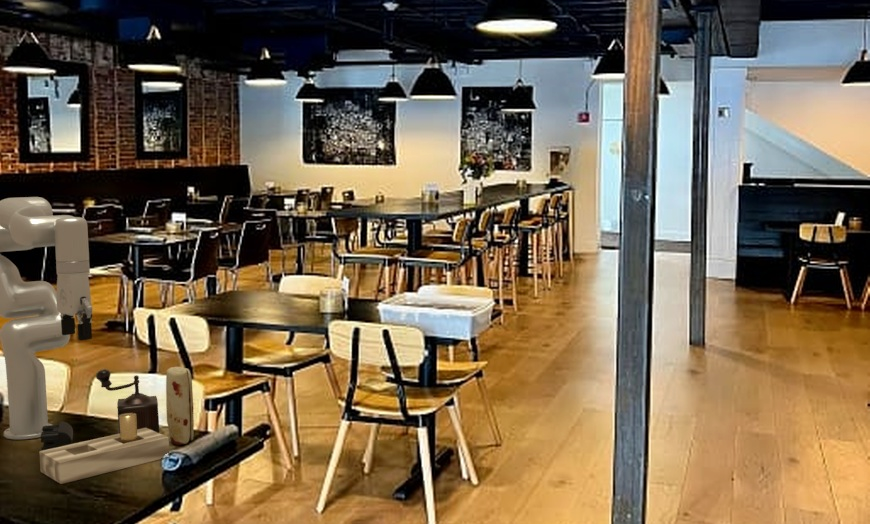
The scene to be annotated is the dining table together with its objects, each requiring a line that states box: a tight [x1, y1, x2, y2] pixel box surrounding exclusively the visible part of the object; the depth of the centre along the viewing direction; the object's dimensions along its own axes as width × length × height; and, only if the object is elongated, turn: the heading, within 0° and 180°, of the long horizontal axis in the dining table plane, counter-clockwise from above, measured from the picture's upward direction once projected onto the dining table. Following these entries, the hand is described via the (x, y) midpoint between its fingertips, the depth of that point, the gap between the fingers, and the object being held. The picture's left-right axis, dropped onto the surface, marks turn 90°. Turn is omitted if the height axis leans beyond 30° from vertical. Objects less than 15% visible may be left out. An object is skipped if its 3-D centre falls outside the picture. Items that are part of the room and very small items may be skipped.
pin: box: [119, 413, 138, 444], centre depth 227 cm, size 4×4×11 cm
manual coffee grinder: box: [95, 368, 160, 434], centre depth 245 cm, size 16×11×18 cm
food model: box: [165, 366, 195, 446], centre depth 239 cm, size 10×7×20 cm
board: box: [38, 428, 170, 485], centre depth 223 cm, size 12×27×5 cm, turn 134°
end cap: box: [40, 421, 74, 451], centre depth 233 cm, size 10×7×7 cm
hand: (76, 336), depth 226 cm, fingers open, 9 cm apart
